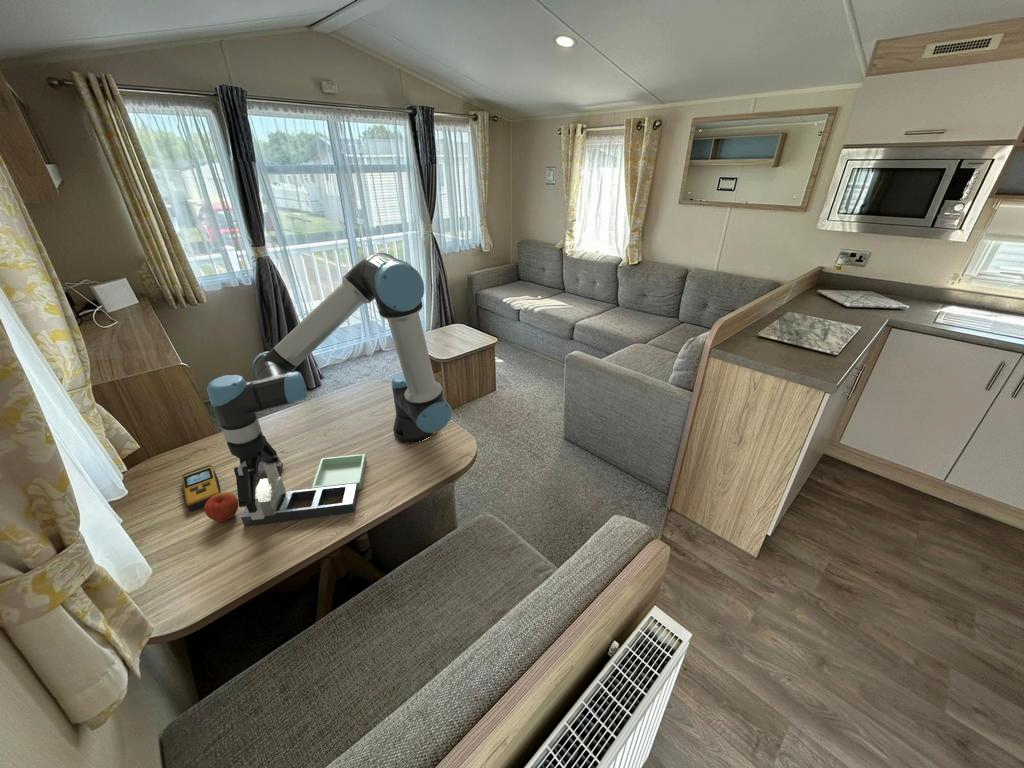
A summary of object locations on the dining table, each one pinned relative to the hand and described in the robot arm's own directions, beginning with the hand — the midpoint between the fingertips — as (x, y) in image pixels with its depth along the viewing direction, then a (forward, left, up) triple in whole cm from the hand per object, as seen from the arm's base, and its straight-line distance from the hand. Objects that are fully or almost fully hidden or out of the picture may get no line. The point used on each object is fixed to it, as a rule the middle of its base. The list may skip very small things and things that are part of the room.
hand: (267, 499), depth 108 cm
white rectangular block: (0, 0, -5) cm, 5 cm away
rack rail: (-8, 0, -5) cm, 10 cm away
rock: (+8, -20, -6) cm, 22 cm away
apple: (+12, -1, -6) cm, 13 cm away
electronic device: (+23, -13, -6) cm, 27 cm away
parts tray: (-16, -12, -5) cm, 21 cm away
